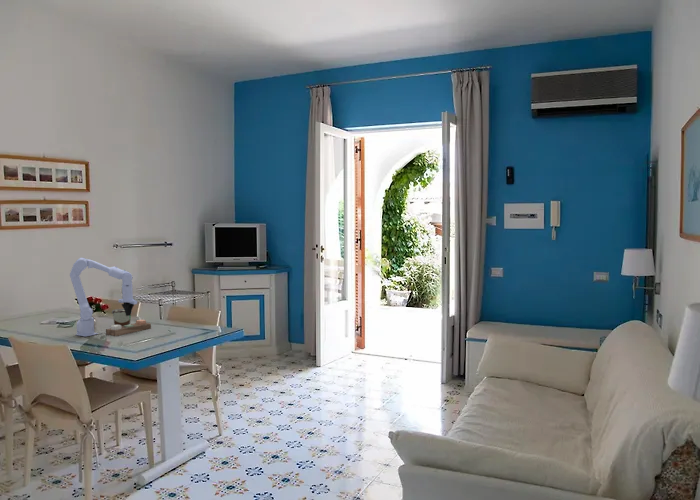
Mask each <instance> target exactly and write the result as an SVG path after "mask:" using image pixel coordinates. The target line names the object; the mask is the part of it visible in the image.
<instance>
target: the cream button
mask: <svg viewBox="0 0 700 500" xmlns="http://www.w3.org/2000/svg"><path fill="white" fill-rule="evenodd" d="M110 328H111V330H118V329H121V325H110Z"/></svg>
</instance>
